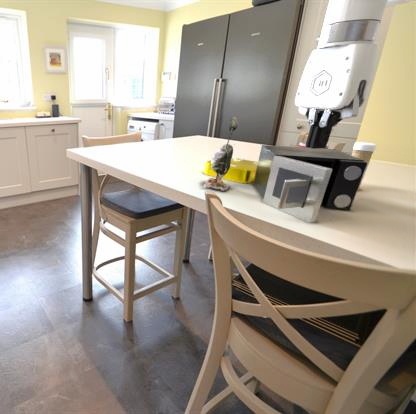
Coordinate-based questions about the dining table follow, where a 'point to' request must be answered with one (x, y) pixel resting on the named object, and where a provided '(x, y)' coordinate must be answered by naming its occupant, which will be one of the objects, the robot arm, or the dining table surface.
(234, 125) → the plant with pod
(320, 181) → the microwave door
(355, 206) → the dining table surface
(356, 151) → the sprinkles bottle
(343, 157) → the microwave
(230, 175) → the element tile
